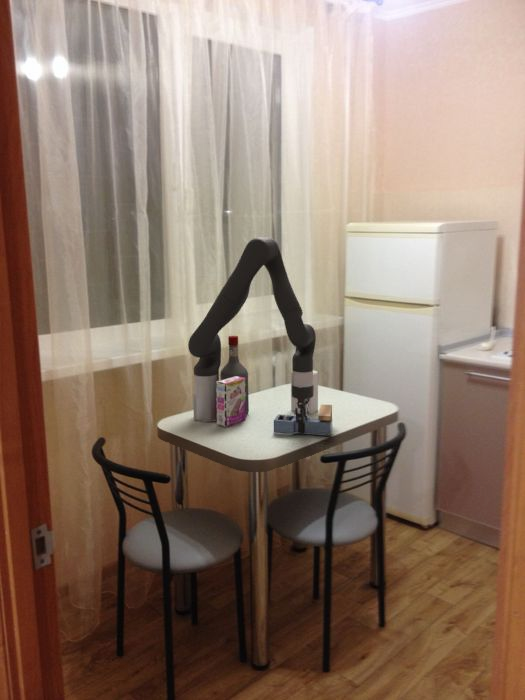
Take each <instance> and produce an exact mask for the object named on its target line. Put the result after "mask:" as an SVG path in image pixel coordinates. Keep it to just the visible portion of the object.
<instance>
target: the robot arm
mask: <svg viewBox="0 0 525 700" xmlns="http://www.w3.org/2000/svg"><path fill="white" fill-rule="evenodd" d="M263 266H264V267H265V269H266V271H267V272H268V275H269V278H270V281H271V284H272V285H271V286H272V291H273V297H274V300H275V301H274V302H275V303H276V306H277V309H278V311H279V313H280V315H281V317H282V319H283V321H284V327H285V330H286V334H287V337H288V340H289V341H290V343H291V344H292V346H293V347H295V352H294V353H293V355H292V360H291V361H292V366H291V367H292V369H291V372H292V397H294V398H297V399H298V402H297V403H296V408H295V412H294V413H295V415H296V423H298V433H297V434H302V435H305V434H304V432H305V418H309V415H310V414H309V402H310V398H312V397H313V396H314V375H313V370H314V353H315V346H316V342H317V341H316V335H317V334H316V330H315V329H314V327H313V326H312V325H311V324H308V323H304V320H303V318H302V317H303V313H304V312H303V309H302V307H301V303H300V302H299V300H298V298H297V296H296V294H295V292H294V289H293V287H292V284H291V282H290V280H289V276H288V273H287V269H286V266H285V263H284V261H283V257H282V253H281V249H280V247H279V244H278V243H277V241H276V239H274V238H273V237H271V236H266V235H265V236H258V237H254V238H252V239H251V240H249V241H248V243H247V244H246V245H245V248H244V249H243V252H242V254H241V256H240V257H239V260H238V262H237V264H236V267H235V268H234V270H233V271H232V273H231V274H230V276H229V277H228V279H227V280H226V282H225V284H224V285H223V287H222V288H221V289H220V292H219V293H218V295H217V296H216V298H215V300H214V302H213V304H212V305H211V306H210V309H209V310H208V312H207V314H206V316H205V317H204V318H203V319H202V322H201V323H200V324H199V325H198V327H197V328H196V329H195V331H194V332H193V333H192V334H191V336H190V337H189V340H188V344H187V346H188V352H189V354H190V355H192V356H193V357H195V358H199V359H198V360H197V362H196V364H195V365H193V387H194V388H193V389H194V393H193V395H192V400H193V401H192V402H193V403H192V404H193V407H192V408H193V421H198V422H203V423H205V422H208V423H209V422H210V423H211V422H215V421H216V422H217V408H216V403H217V402H216V382H217V381H220V367H221V364H222V363H221V361H222V343H221V337H220V335H219V332H220V331H221V330H223V328H224V327H226V325H228V324H229V323H230V322H231V321H232V320H234V318H235V317H236V316H237V315H238V313H239V312H240V311H241V309H242V308H243V306H244V304H245V303H246V301H247V299H248V297H249V294H250V288H251V285H252V282H253V280H254V278H255V276H256V275H257V273H258V272H259V271H260V270H261V269H262V267H263ZM299 418H302V419H299Z"/></svg>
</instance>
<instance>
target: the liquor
mask: <svg viewBox="0 0 525 700" xmlns="http://www.w3.org/2000/svg"><path fill="white" fill-rule="evenodd" d="M227 340H228V343H227V344H228V362H226V364H224V366H223V367H222V369H220V371H219V381H220V380H224V379H228V378H231V377H235V376H238V377H243V378H246V379H245V382H246V383H245V384H246V385H245V386H246V387H245V388H246V396H245V398H246V415H248V413H249V411H250V410H249V409H250V406H249V372H248V369H247V368H245V366H244V365H243V364H242V363H241V362H240V359H239V336H238V335H229V336H228V339H227Z"/></svg>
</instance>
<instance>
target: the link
mask: <svg viewBox="0 0 525 700" xmlns="http://www.w3.org/2000/svg"><path fill="white" fill-rule="evenodd" d="M283 415H284V414H282V413H281V414H277V416H276V417H275V418H274V419H273V433H274V434H283V435H284V434H285V435H286V434H288V435H294V434H299V433H298V423H296V414H294V415H292V414H288V415H289V421H288V420H283ZM299 419H302V418H299ZM332 433H333V418H332V419H330V420H318V417H308V418H305V432H304V434H303V435H317V436H331V435H332Z"/></svg>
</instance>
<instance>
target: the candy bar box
mask: <svg viewBox="0 0 525 700" xmlns="http://www.w3.org/2000/svg"><path fill="white" fill-rule="evenodd" d="M245 379H246V378H243V377H238V376H235V377H231V378H228V379H224V380H220V379H219V381H217V382H216V402H217V403H216V408H217V420H216V425H217V426H219V427H222V428H228V427H230V426H233V425H236V424H239V423H241V422H244V421H246V420H247V418H246V415H247V414H246V398H245V396H246V388H245V387H246V386H245V385H246V384H245V383H246V382H245Z"/></svg>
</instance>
